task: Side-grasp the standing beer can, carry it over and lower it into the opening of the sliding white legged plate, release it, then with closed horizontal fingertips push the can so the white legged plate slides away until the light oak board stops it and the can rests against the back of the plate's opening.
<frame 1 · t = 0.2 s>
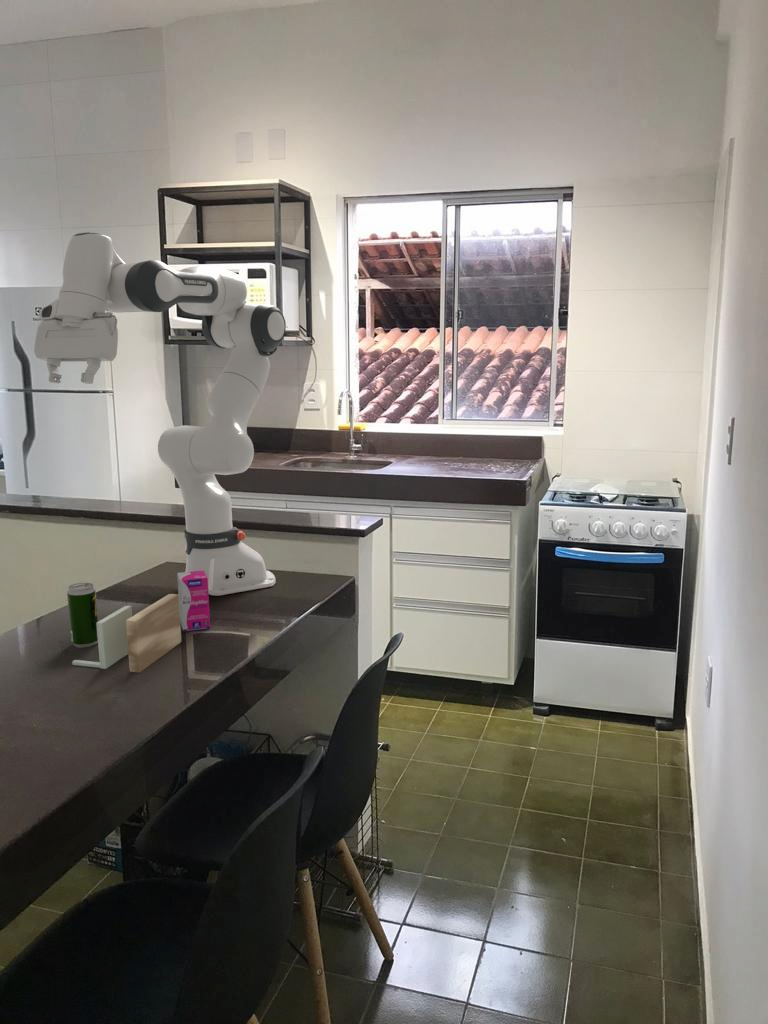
hand: (70, 382, 165), 52 cm above the breakfast bar, tool tilted 15°, fingers open, 8 cm apart
supplement box: (195, 627, 180), on the breakfast bar
beer can: (86, 644, 170), on the breakfast bar
oak board: (156, 656, 163), on the breakfast bar
white legged plate: (102, 635, 162), point 5 cm above the breakfast bar, slide at 0.0 cm
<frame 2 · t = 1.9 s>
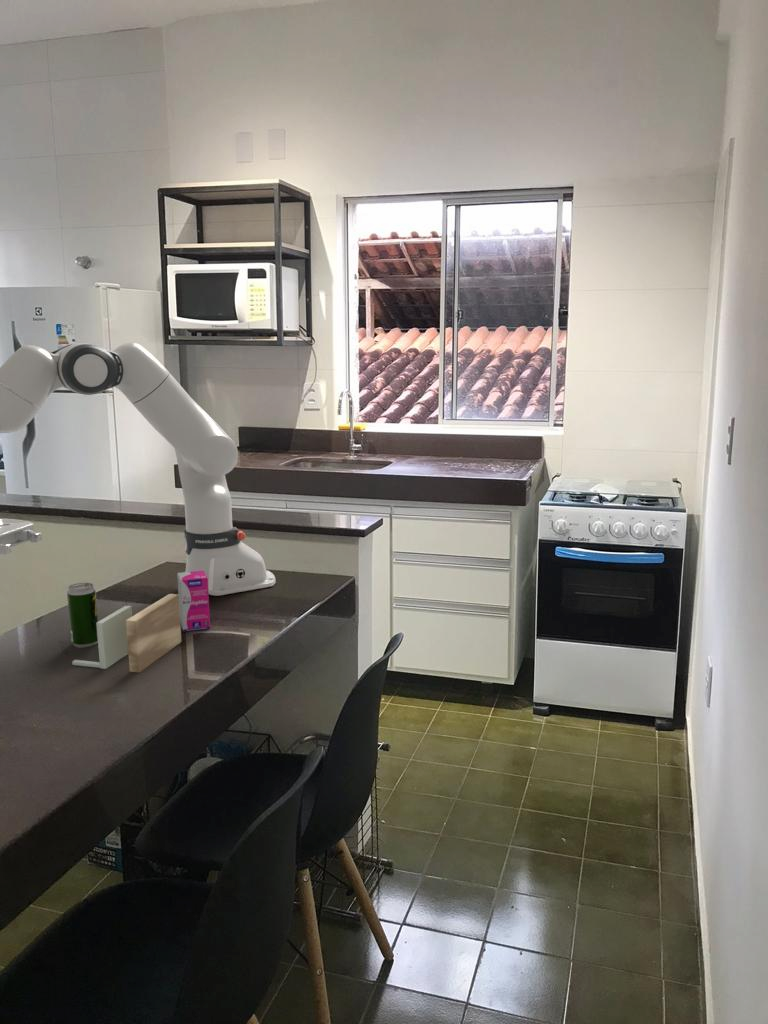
hand: (24, 543, 169), 20 cm above the breakfast bar, tool horizontal, fingers open, 8 cm apart
nothing on the breakfast bar moved.
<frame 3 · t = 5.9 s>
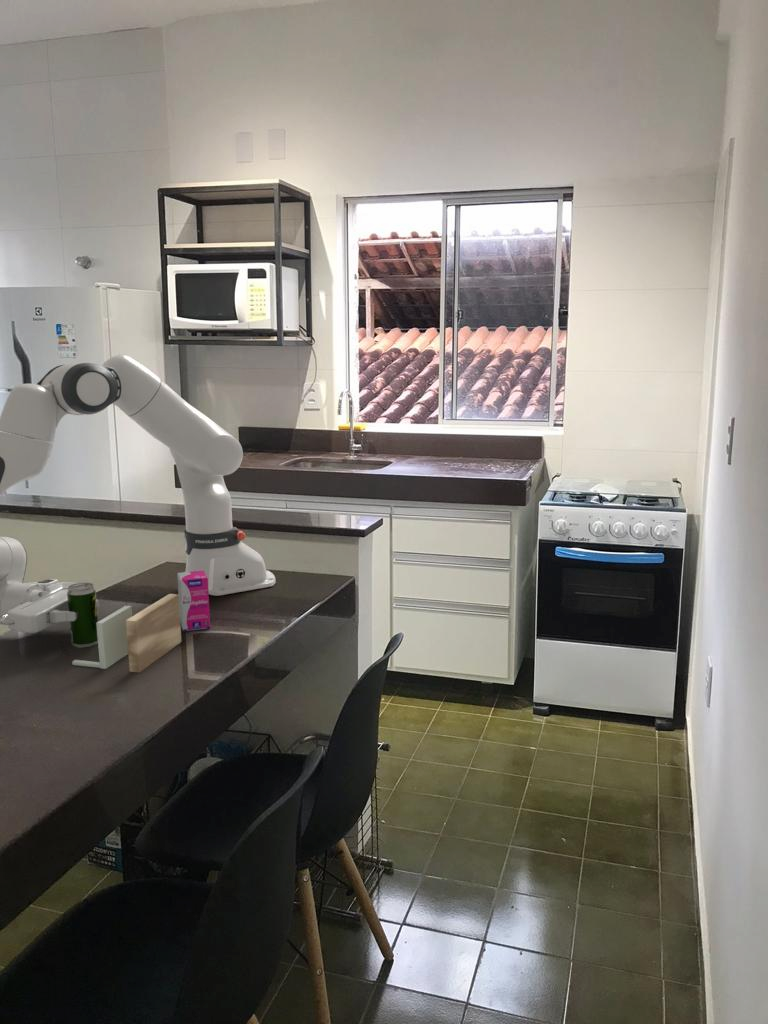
hand: (86, 610, 169), 7 cm above the breakfast bar, tool horizontal, fingers closed on beer can, 5 cm apart
beer can: (86, 644, 170), on the breakfast bar, touching gripper
everything else where it was.
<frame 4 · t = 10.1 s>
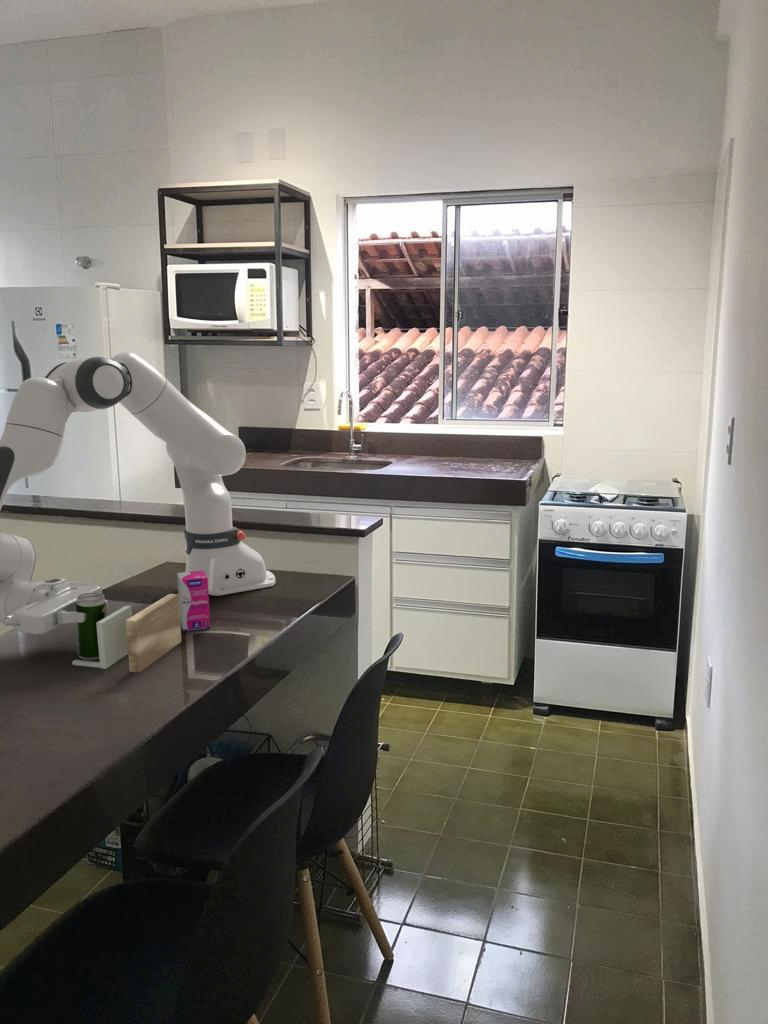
hand: (96, 611, 161), 9 cm above the breakfast bar, tool horizontal, fingers closed on beer can, 5 cm apart
beer can: (92, 656, 163), on the breakfast bar, touching gripper
everything else where it was.
when the fingers open (9 cm above the breakfast bar, at t = 10.7 s): beer can stays where it is, on the breakfast bar.
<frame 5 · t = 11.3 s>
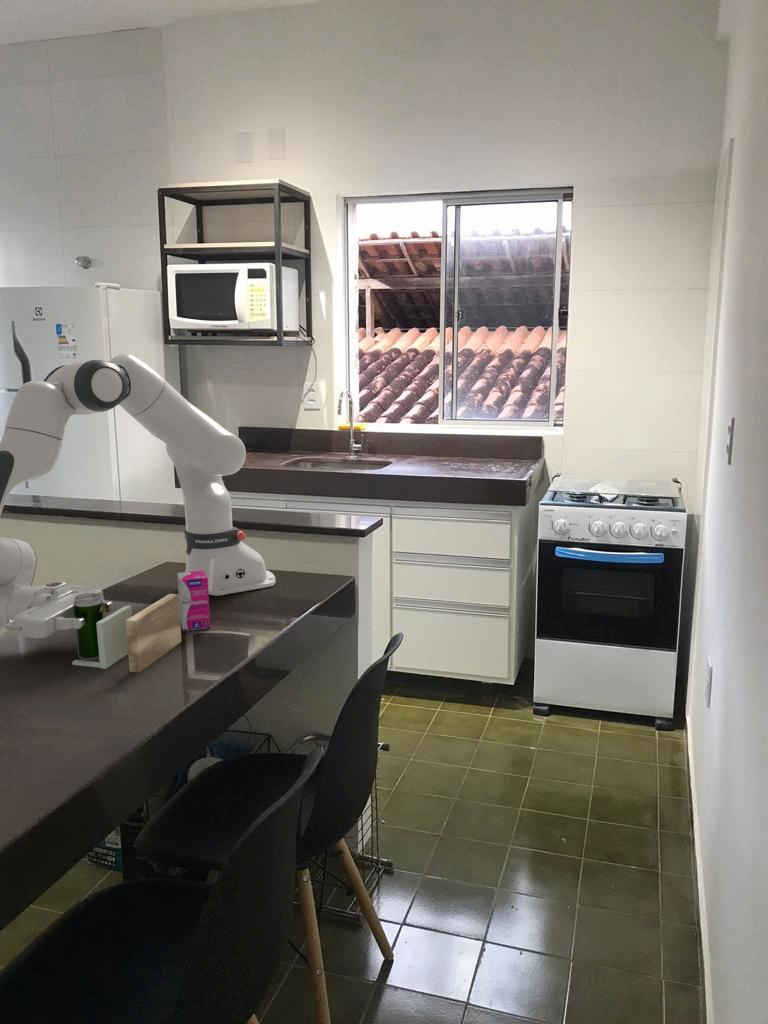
hand: (97, 614, 161), 9 cm above the breakfast bar, tool horizontal, fingers open, 8 cm apart
beer can: (92, 657, 163), on the breakfast bar
everything else where it was.
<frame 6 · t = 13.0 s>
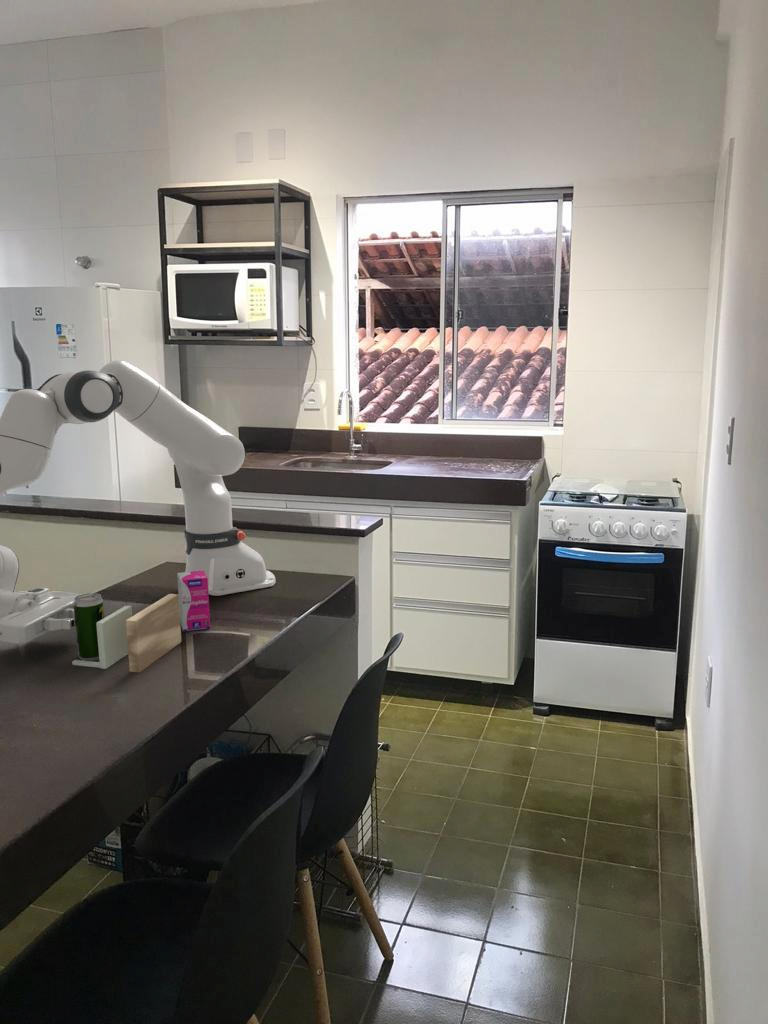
hand: (77, 621, 162), 7 cm above the breakfast bar, tool horizontal, fingers closed
nothing on the breakfast bar moved.
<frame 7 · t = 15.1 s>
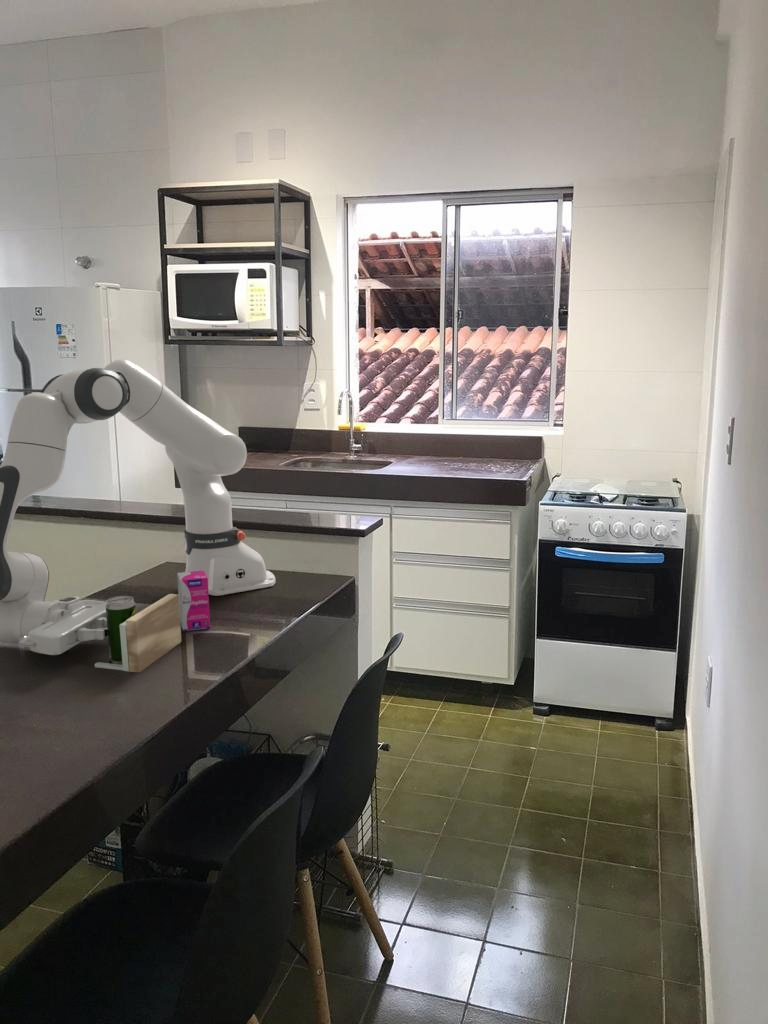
hand: (111, 630, 161), 6 cm above the breakfast bar, tool horizontal, fingers closed on beer can, 2 cm apart
beer can: (124, 660, 162), on the breakfast bar, touching white legged plate, gripper
white legged plate: (124, 637, 161), point 5 cm above the breakfast bar, slide at 4.8 cm, touching beer can
everything else where it was.
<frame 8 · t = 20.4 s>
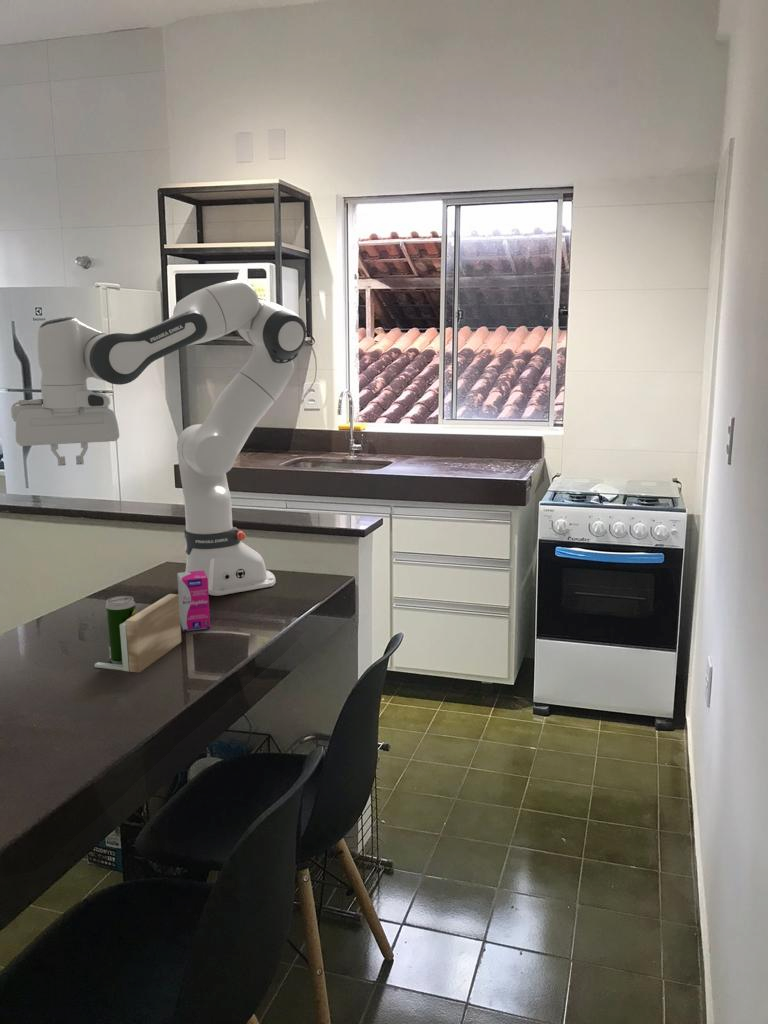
hand: (71, 464, 177), 34 cm above the breakfast bar, tool pointing down, fingers closed
beer can: (124, 660, 162), on the breakfast bar
white legged plate: (124, 637, 161), point 5 cm above the breakfast bar, slide at 4.8 cm
everything else where it was.
at the end: beer can 0.2 cm from the white legged plate (horizontally); white legged plate slide at 4.8 cm; beer can tilted 0° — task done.
